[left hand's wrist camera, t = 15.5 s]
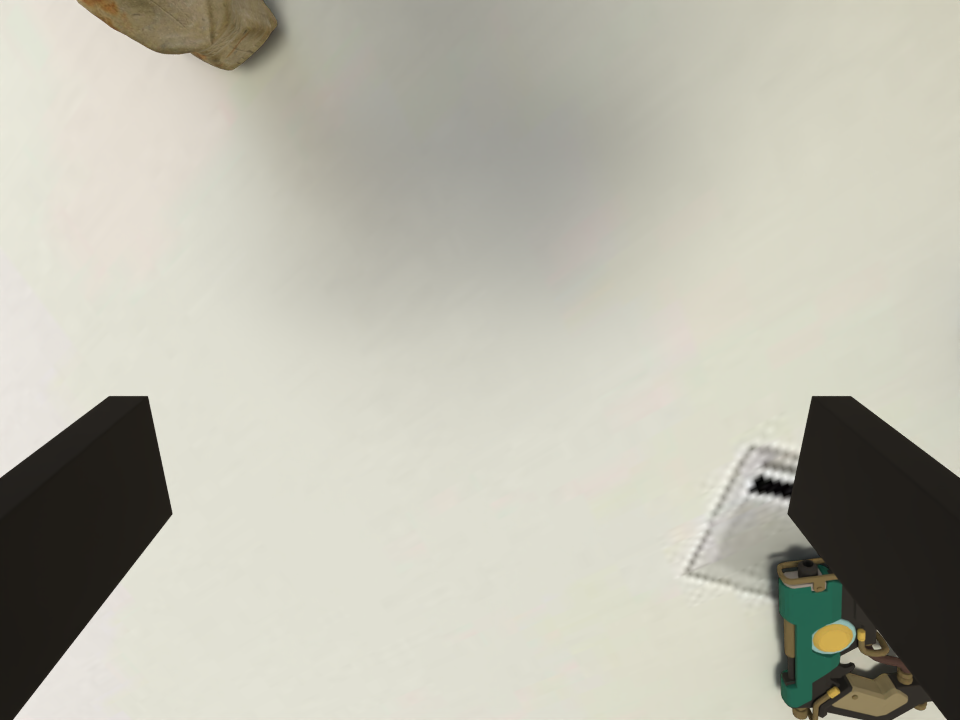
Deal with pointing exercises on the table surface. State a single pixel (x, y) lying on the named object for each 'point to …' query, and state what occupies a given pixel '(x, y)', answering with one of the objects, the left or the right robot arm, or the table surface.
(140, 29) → the sculpture
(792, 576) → the spray gun
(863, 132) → the table surface
